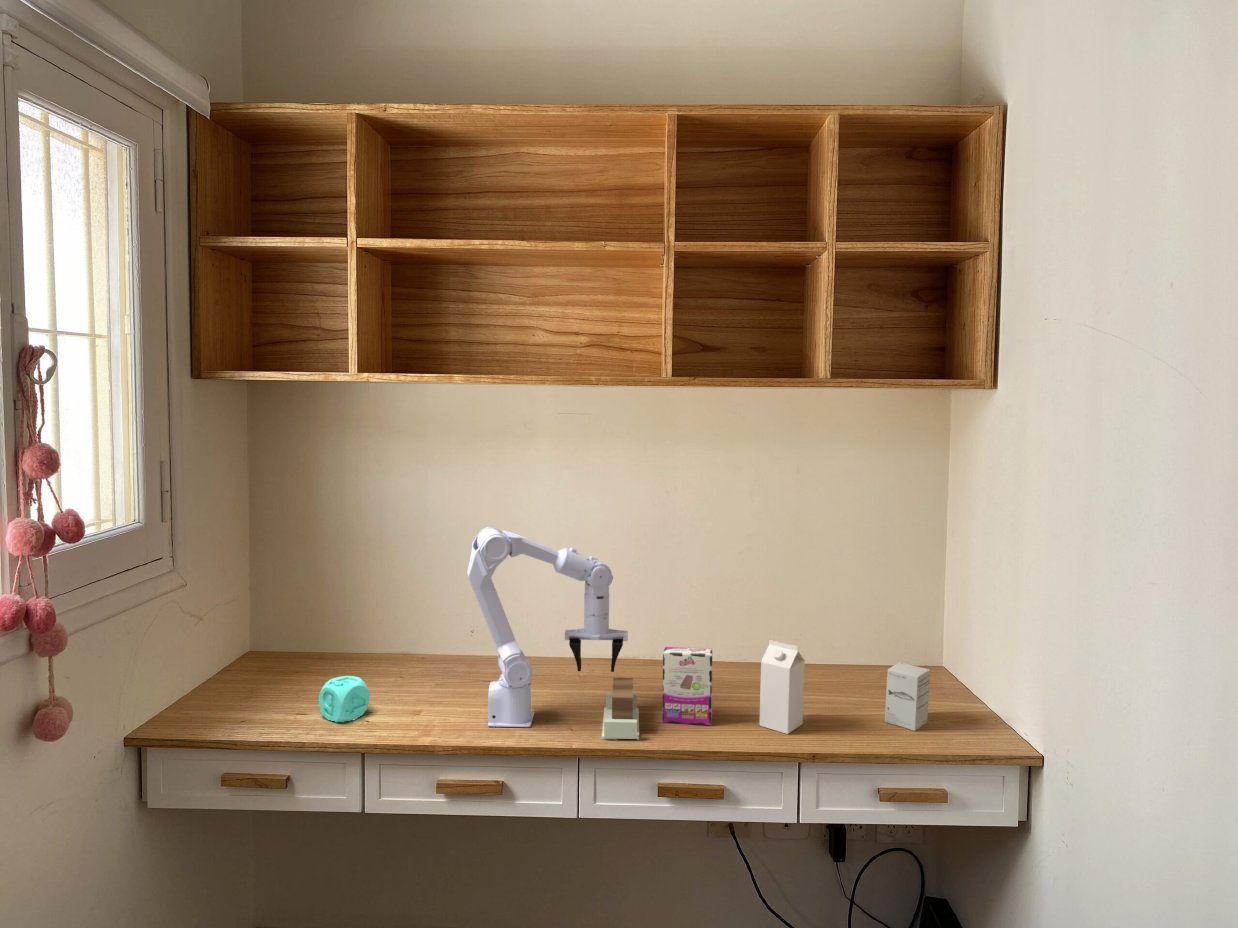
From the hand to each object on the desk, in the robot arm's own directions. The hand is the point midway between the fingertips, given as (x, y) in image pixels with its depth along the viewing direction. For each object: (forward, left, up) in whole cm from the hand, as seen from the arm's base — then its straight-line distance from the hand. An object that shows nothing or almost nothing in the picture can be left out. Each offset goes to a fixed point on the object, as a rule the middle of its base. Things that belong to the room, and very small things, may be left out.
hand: (596, 670), depth 190 cm
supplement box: (+71, -3, -10) cm, 72 cm away
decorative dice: (-57, -5, -10) cm, 58 cm away
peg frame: (+6, -7, -10) cm, 14 cm away
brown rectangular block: (+6, -7, -7) cm, 12 cm away
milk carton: (+42, -6, -10) cm, 44 cm away
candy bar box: (+21, -4, -10) cm, 24 cm away
